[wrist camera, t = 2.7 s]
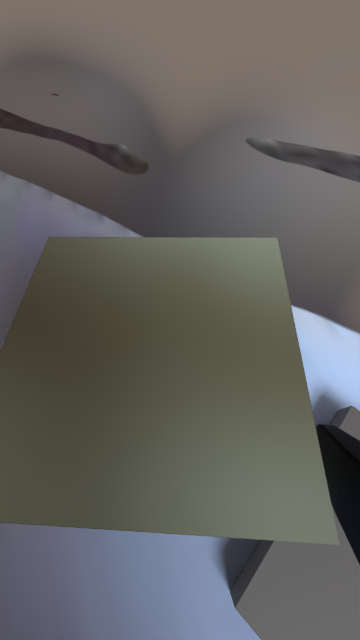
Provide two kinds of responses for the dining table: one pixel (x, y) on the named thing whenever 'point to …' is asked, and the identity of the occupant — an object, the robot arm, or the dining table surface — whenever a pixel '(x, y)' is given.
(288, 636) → the base board
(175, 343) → the green post
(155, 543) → the dining table surface
